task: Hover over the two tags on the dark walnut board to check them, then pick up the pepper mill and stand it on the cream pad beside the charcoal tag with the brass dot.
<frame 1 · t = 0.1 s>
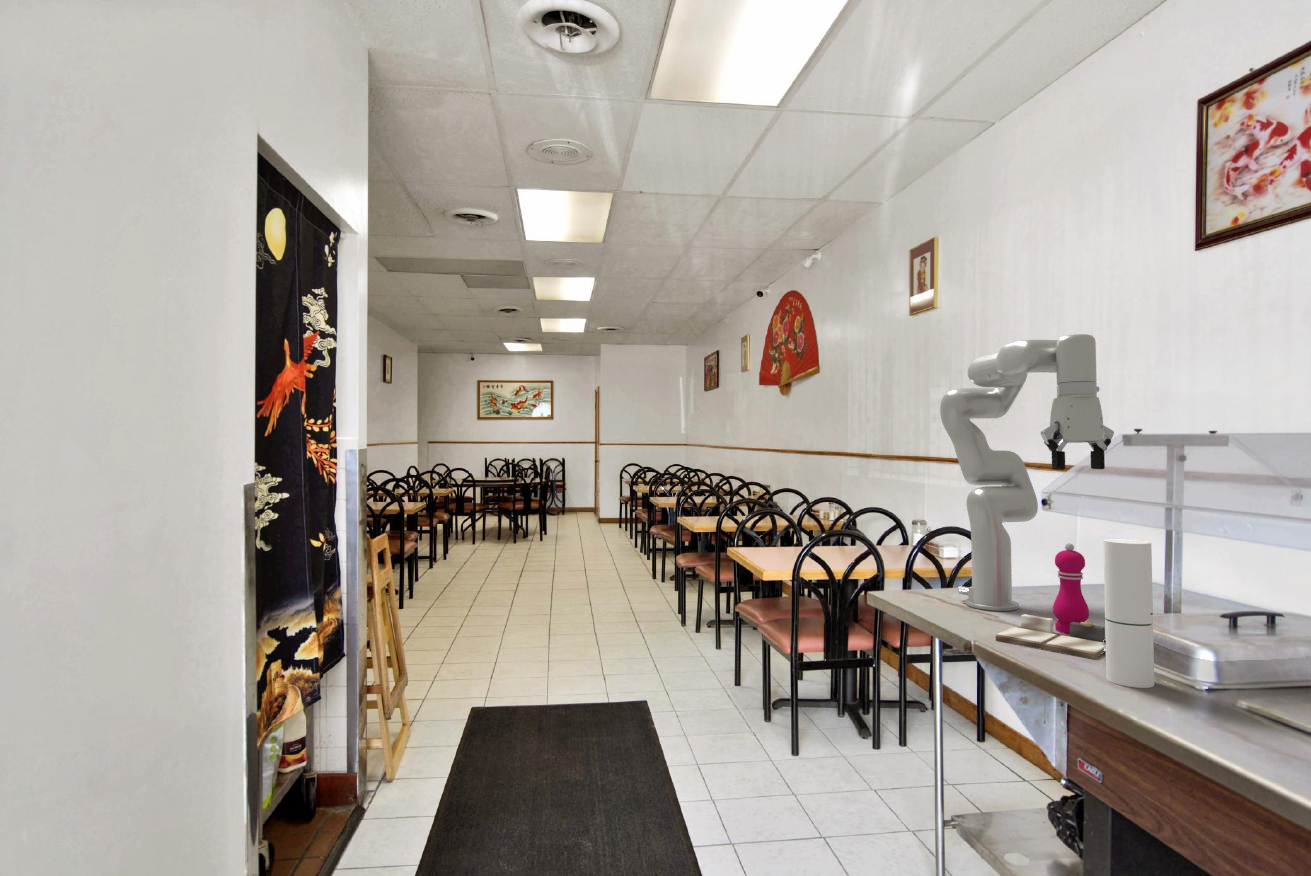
hand: (1078, 469, 153), 37 cm above the countertop, tool pointing down, fingers open, 9 cm apart
cylindrical container: (1129, 682, 125), on the countertop
pepper mill: (1071, 632, 159), on the countertop
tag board: (1053, 643, 149), on the countertop
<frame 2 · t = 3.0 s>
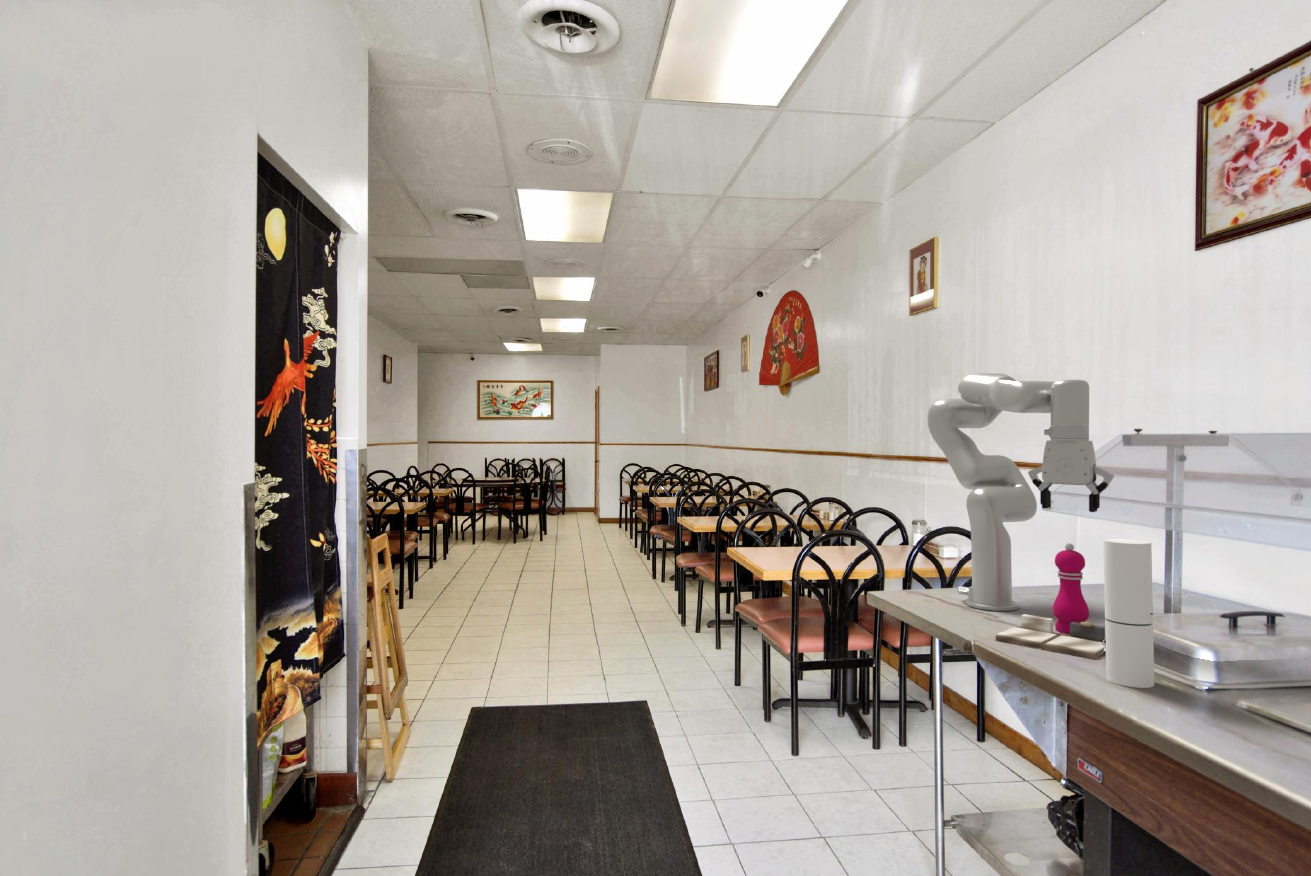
hand: (1069, 509, 159), 28 cm above the countertop, tool pointing down, fingers open, 9 cm apart
nothing on the countertop moved.
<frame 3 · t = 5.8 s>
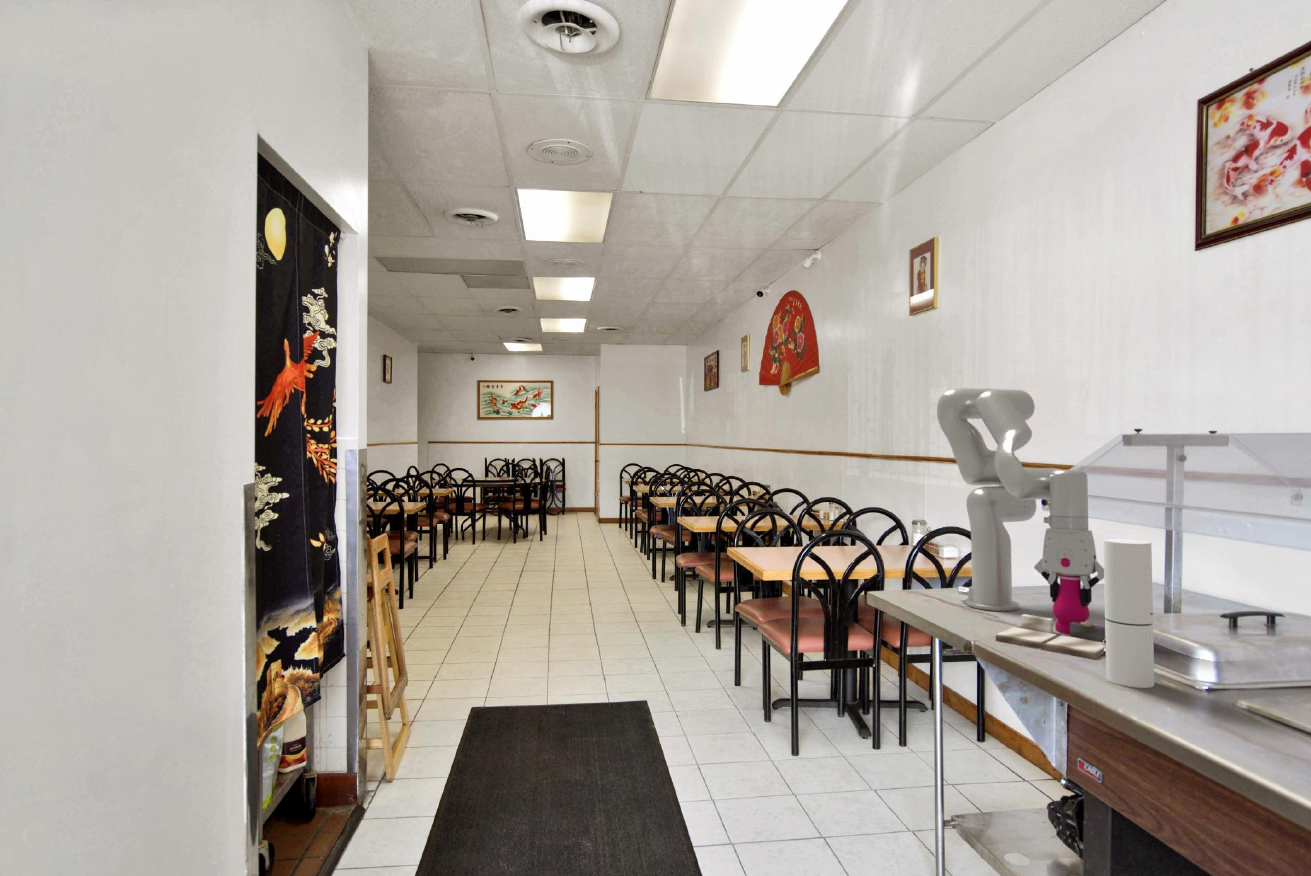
hand: (1070, 602, 160), 7 cm above the countertop, tool pointing down, fingers closed on pepper mill, 5 cm apart
pepper mill: (1071, 632, 159), on the countertop, touching gripper
everything else where it was.
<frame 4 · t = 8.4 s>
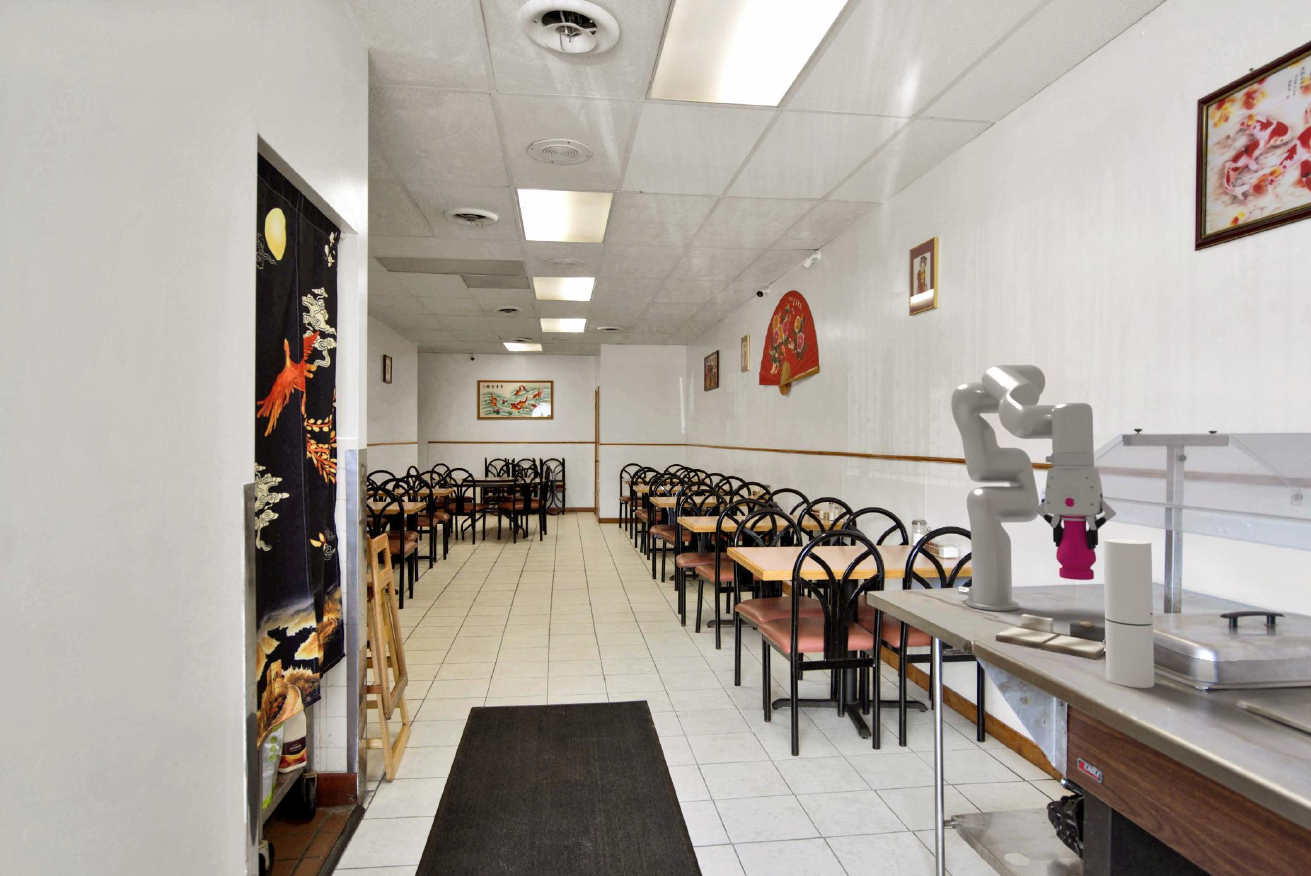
hand: (1075, 546, 148), 21 cm above the countertop, tool pointing down, fingers closed on pepper mill, 5 cm apart
pepper mill: (1076, 578, 147), point 14 cm above the countertop, touching gripper
everything else where it was.
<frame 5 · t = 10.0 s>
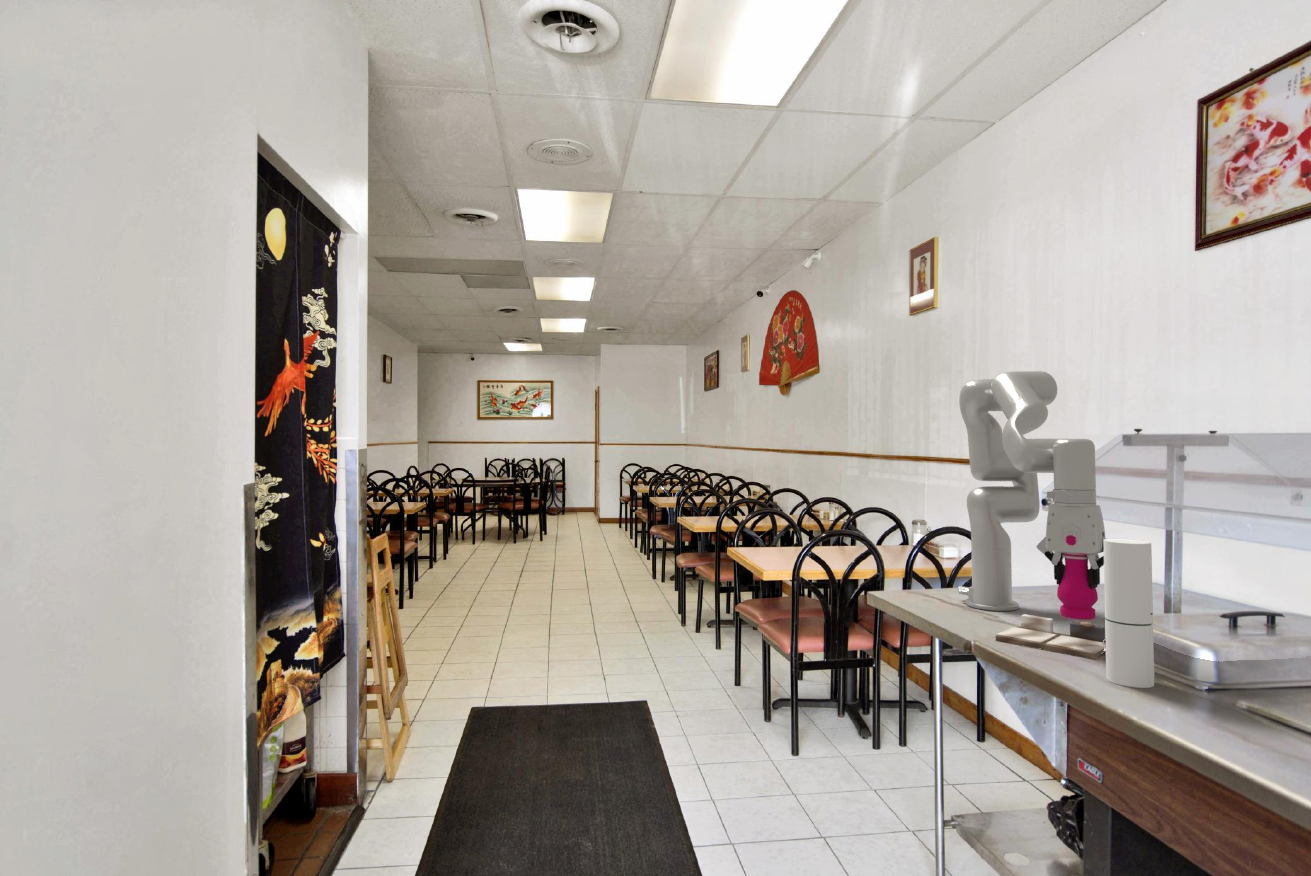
hand: (1076, 584, 145), 13 cm above the countertop, tool pointing down, fingers closed on pepper mill, 5 cm apart
pepper mill: (1077, 617, 145), point 7 cm above the countertop, touching gripper
everything else where it was.
when the fingers open (9 cm above the countertop, at t = 11.3 s): pepper mill stays where it is, resting on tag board.
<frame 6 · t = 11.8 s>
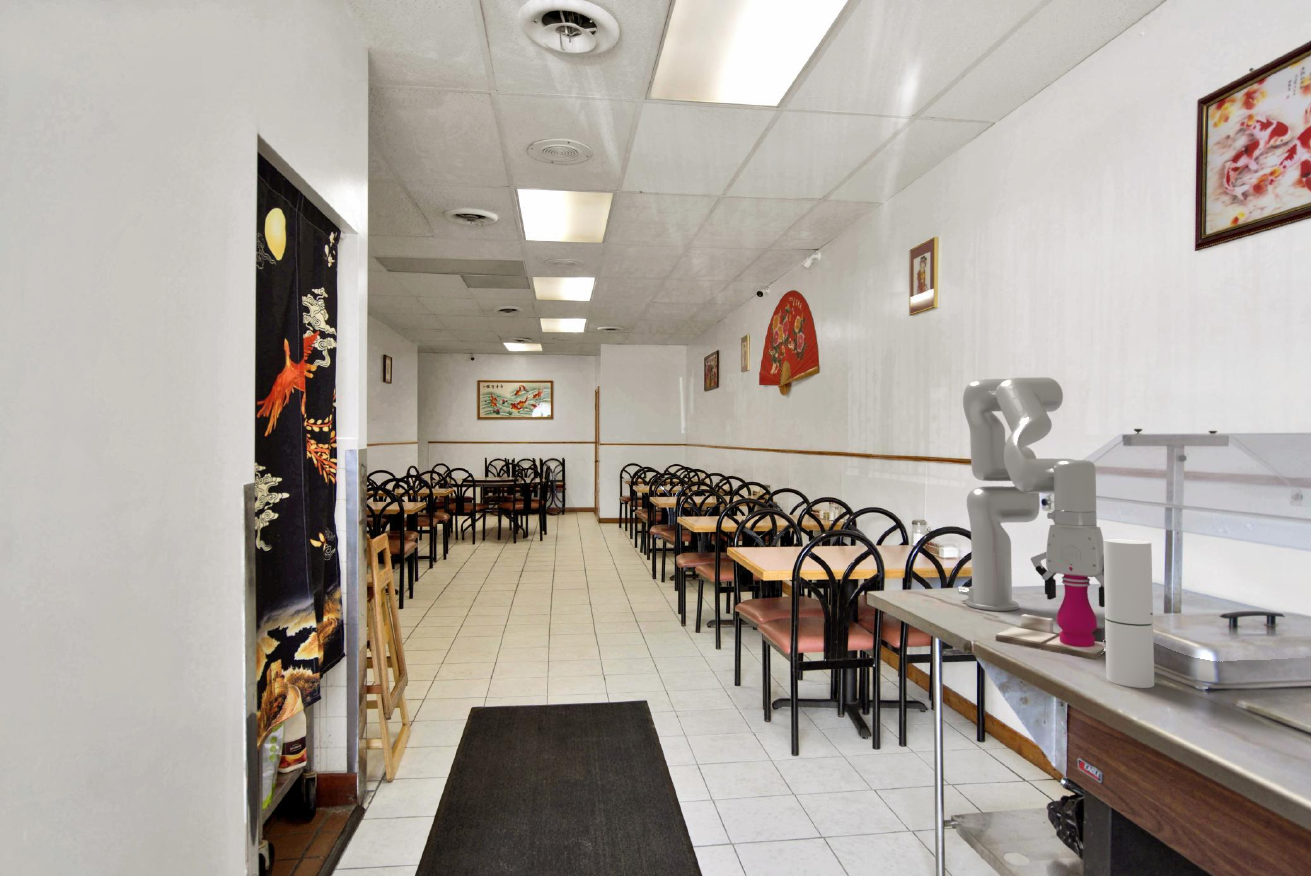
hand: (1076, 602, 145), 10 cm above the countertop, tool pointing down, fingers open, 9 cm apart
pepper mill: (1076, 643, 145), point 1 cm above the countertop, touching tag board
everything else where it was.
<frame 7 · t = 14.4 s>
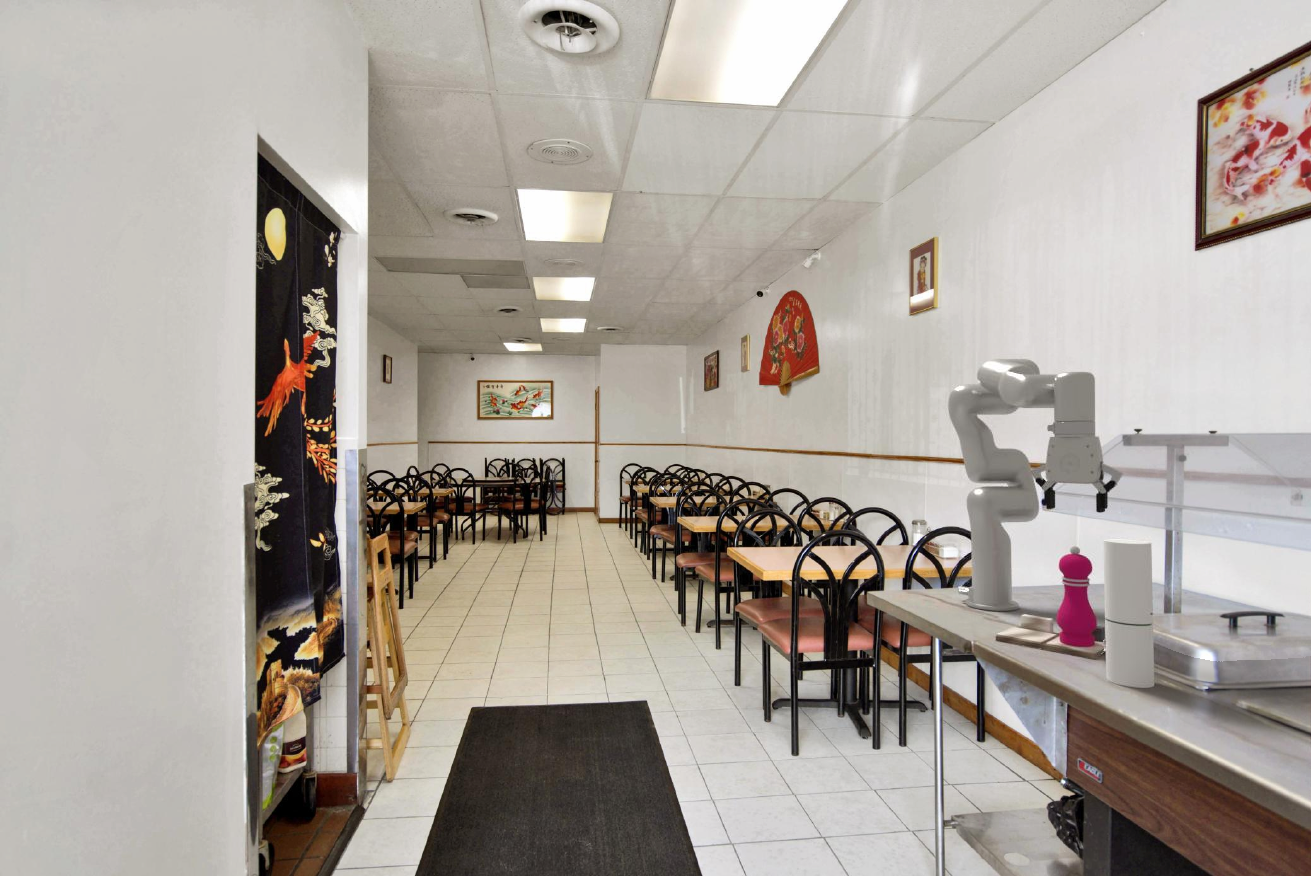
hand: (1075, 510, 149), 28 cm above the countertop, tool pointing down, fingers open, 9 cm apart
nothing on the countertop moved.
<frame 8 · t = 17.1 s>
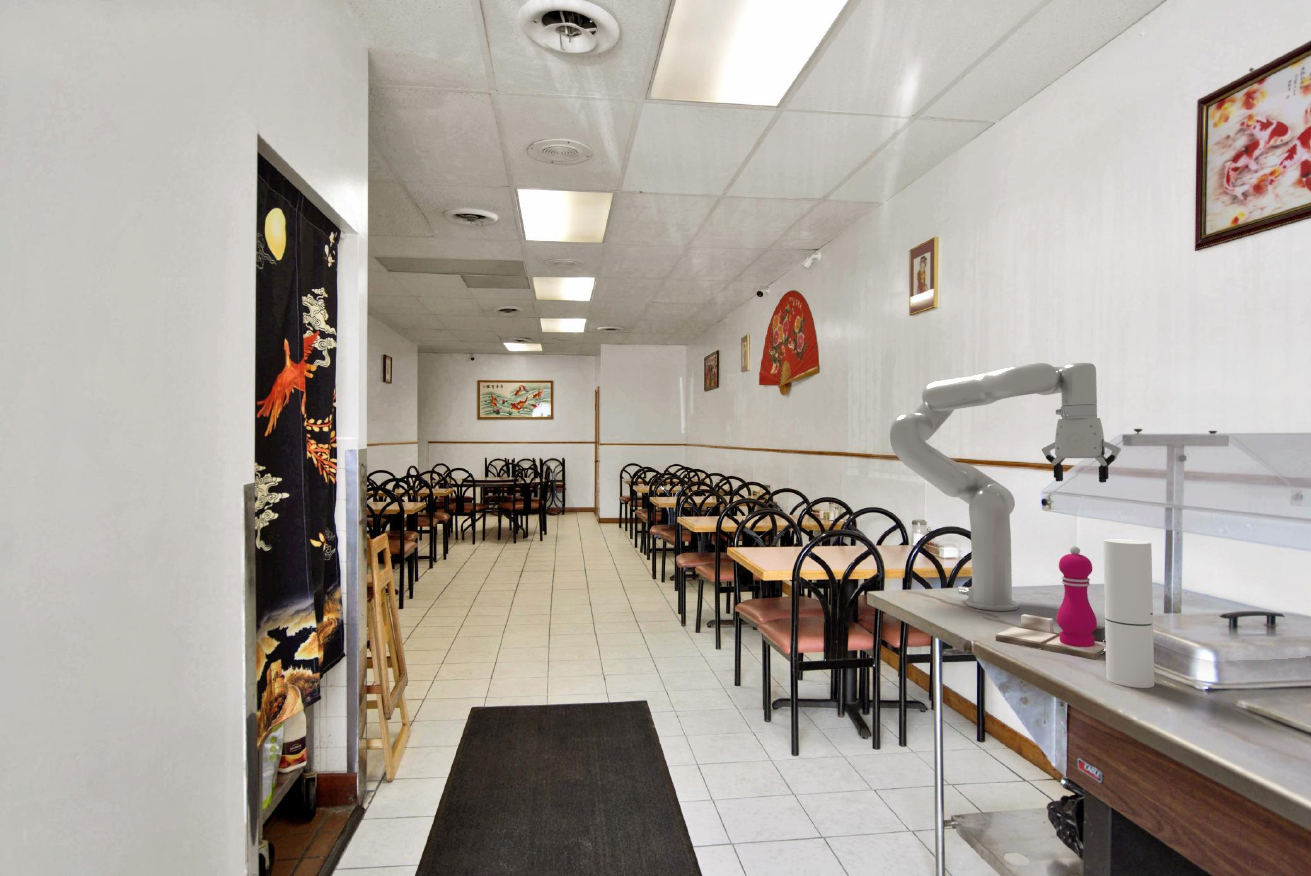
hand: (1080, 481, 174), 33 cm above the countertop, tool pointing down, fingers open, 9 cm apart
nothing on the countertop moved.
at the end: pepper mill 0.3 cm from the target spot on the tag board, point 1.1 cm above the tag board's base; pepper mill tilted 0°; the gripper is holding nothing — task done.
